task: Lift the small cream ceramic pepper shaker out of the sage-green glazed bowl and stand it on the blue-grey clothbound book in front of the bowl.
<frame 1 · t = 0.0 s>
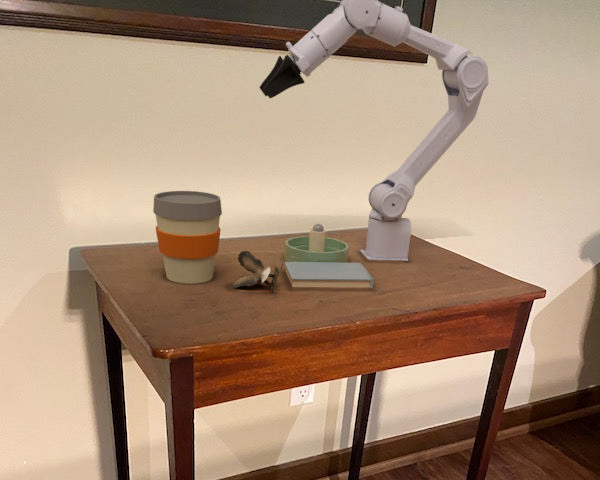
hand: (264, 93, 121), 32 cm above the table, tool tilted 50°, fingers open, 7 cm apart
book: (327, 280, 123), on the table
bowl: (315, 262, 134), on the table
reusable coffee cup: (189, 277, 120), on the table
eagle figurine: (254, 289, 116), on the table
shaker: (315, 260, 134), resting on bowl
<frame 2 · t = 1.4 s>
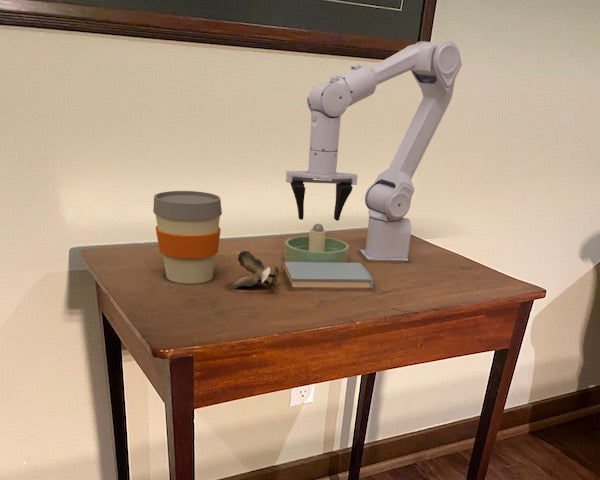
hand: (318, 219, 130), 9 cm above the table, tool pointing down, fingers open, 7 cm apart
nothing on the table moved.
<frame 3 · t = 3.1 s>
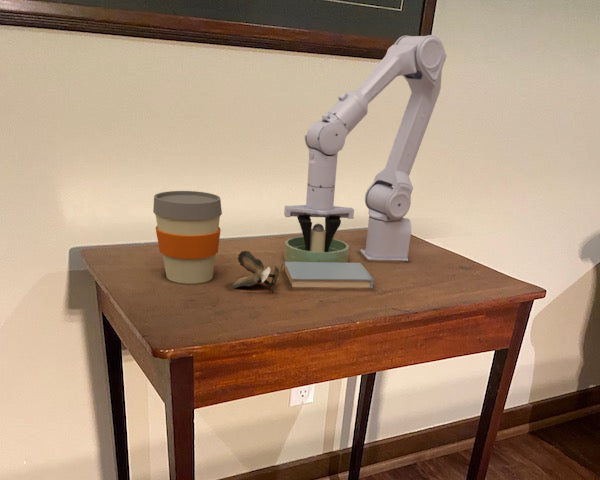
hand: (316, 251, 133), 2 cm above the table, tool pointing down, fingers closed on shaker, 3 cm apart
shaker: (315, 260, 134), point 1 cm above the table, touching bowl, gripper
everything else where it was.
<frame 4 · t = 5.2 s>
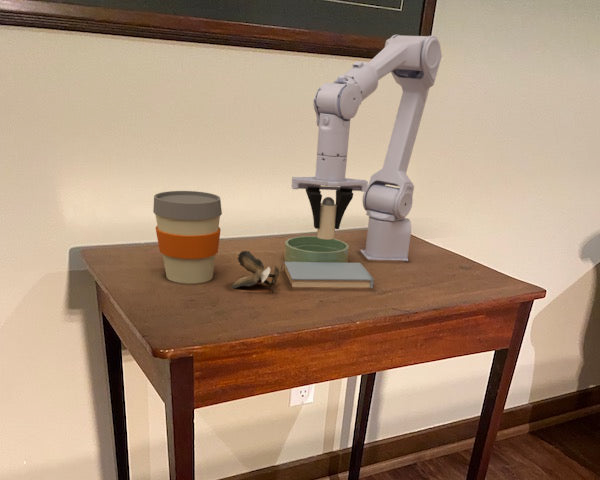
hand: (326, 227, 122), 9 cm above the table, tool pointing down, fingers closed on shaker, 3 cm apart
shaker: (325, 237, 123), point 8 cm above the table, touching gripper
everything else where it was.
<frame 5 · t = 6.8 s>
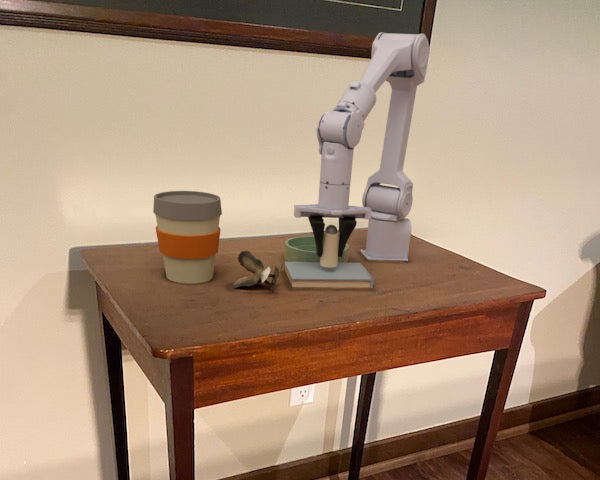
hand: (329, 255, 120), 5 cm above the table, tool pointing down, fingers closed on shaker, 3 cm apart
shaker: (328, 264, 121), point 3 cm above the table, touching gripper
everything else where it was.
when the fingers open (4 cm above the table, at t = 7.6 s): shaker stays where it is, resting on book.
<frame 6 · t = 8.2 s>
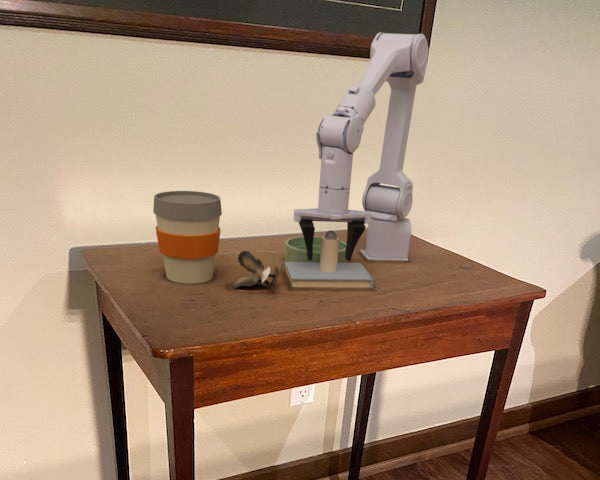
hand: (328, 259, 121), 4 cm above the table, tool pointing down, fingers open, 7 cm apart
shaker: (328, 270, 122), point 2 cm above the table, touching book
everything else where it was.
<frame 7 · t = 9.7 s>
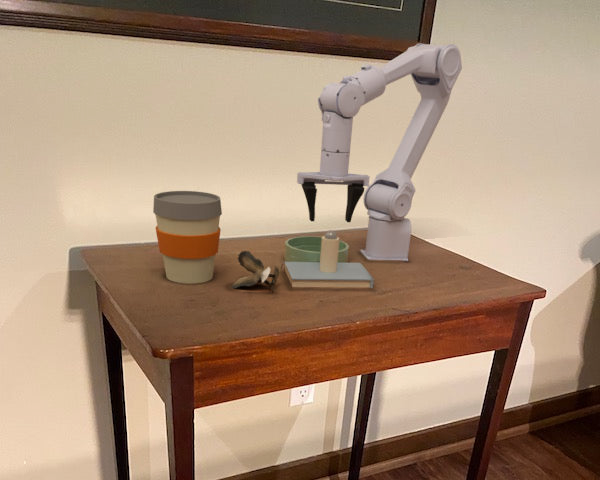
hand: (329, 220, 128), 9 cm above the table, tool pointing down, fingers open, 7 cm apart
nothing on the table moved.
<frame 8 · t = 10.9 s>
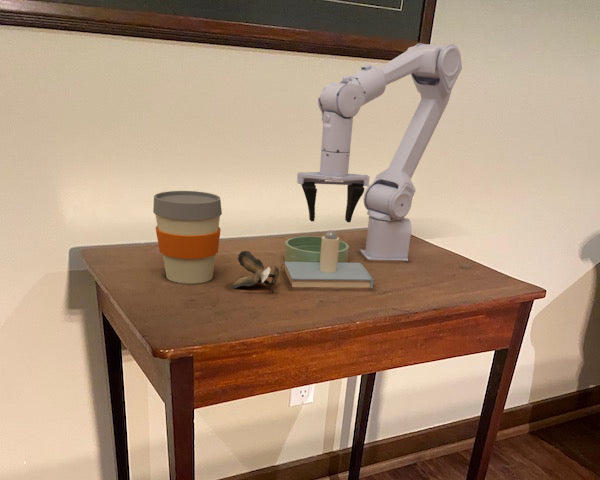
hand: (329, 220, 128), 9 cm above the table, tool pointing down, fingers open, 7 cm apart
nothing on the table moved.
at the end: shaker inside the target area on the book (0.0 cm from its centre), point 2.2 cm above the book's base; shaker tilted 0°; the gripper is holding nothing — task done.
